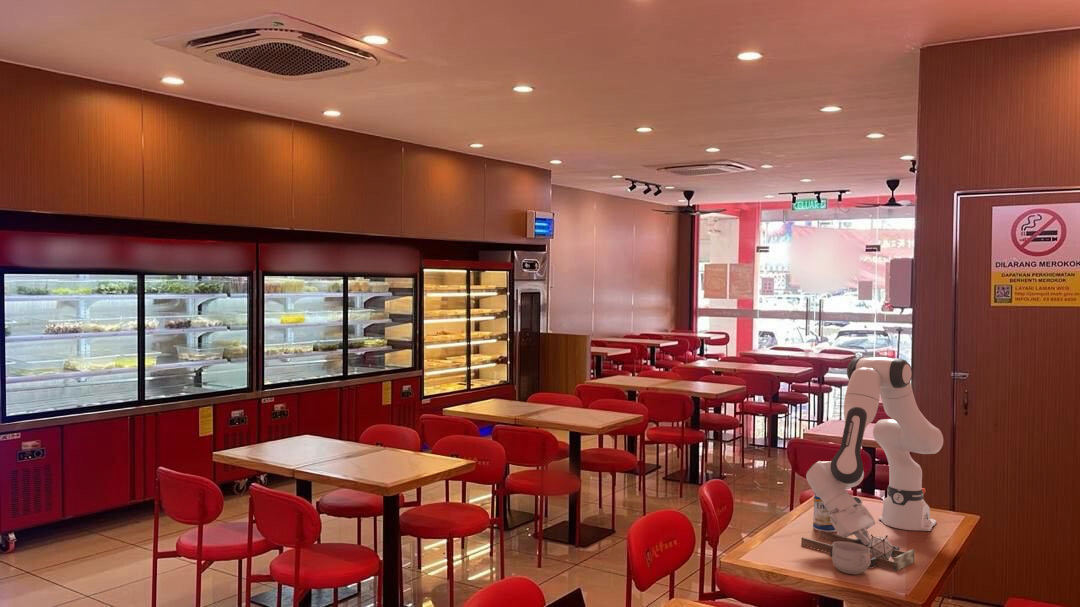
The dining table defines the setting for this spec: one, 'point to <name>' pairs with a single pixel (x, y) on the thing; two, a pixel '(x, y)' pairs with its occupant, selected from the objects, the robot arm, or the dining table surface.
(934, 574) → the dining table surface
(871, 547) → the game die
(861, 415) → the robot arm
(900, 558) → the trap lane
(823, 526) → the beverage bottle
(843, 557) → the teacup
